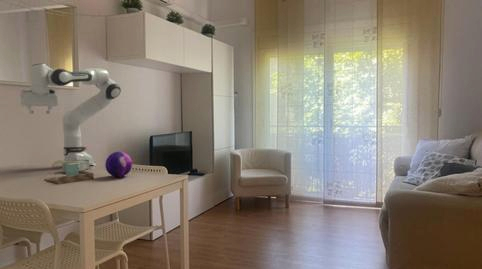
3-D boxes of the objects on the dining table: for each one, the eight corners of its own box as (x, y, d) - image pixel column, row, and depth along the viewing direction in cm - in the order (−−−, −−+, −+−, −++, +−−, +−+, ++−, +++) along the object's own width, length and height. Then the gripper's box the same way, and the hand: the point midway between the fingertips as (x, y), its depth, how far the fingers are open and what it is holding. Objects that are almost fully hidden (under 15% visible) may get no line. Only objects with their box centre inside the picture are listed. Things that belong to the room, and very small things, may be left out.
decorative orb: (121, 173, 226) (121, 149, 225) (137, 176, 217) (137, 151, 216) (100, 177, 213) (99, 152, 213) (116, 180, 205) (115, 153, 204)
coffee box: (61, 162, 228) (75, 159, 244) (62, 172, 228) (75, 168, 244) (75, 163, 227) (88, 159, 243) (75, 173, 227) (88, 169, 243)
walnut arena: (78, 175, 218) (78, 169, 218) (93, 179, 208) (93, 173, 207) (44, 180, 203) (44, 174, 203) (59, 184, 192) (59, 177, 192)
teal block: (75, 176, 209) (74, 162, 208) (78, 177, 206) (78, 163, 206) (66, 177, 205) (66, 163, 204) (69, 178, 202) (69, 164, 202)
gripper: (22, 89, 208) (23, 113, 208) (58, 91, 224) (59, 113, 225) (18, 89, 212) (18, 113, 212) (53, 91, 228) (54, 113, 228)
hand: (39, 113), depth 219 cm, fingers open, 8 cm apart
